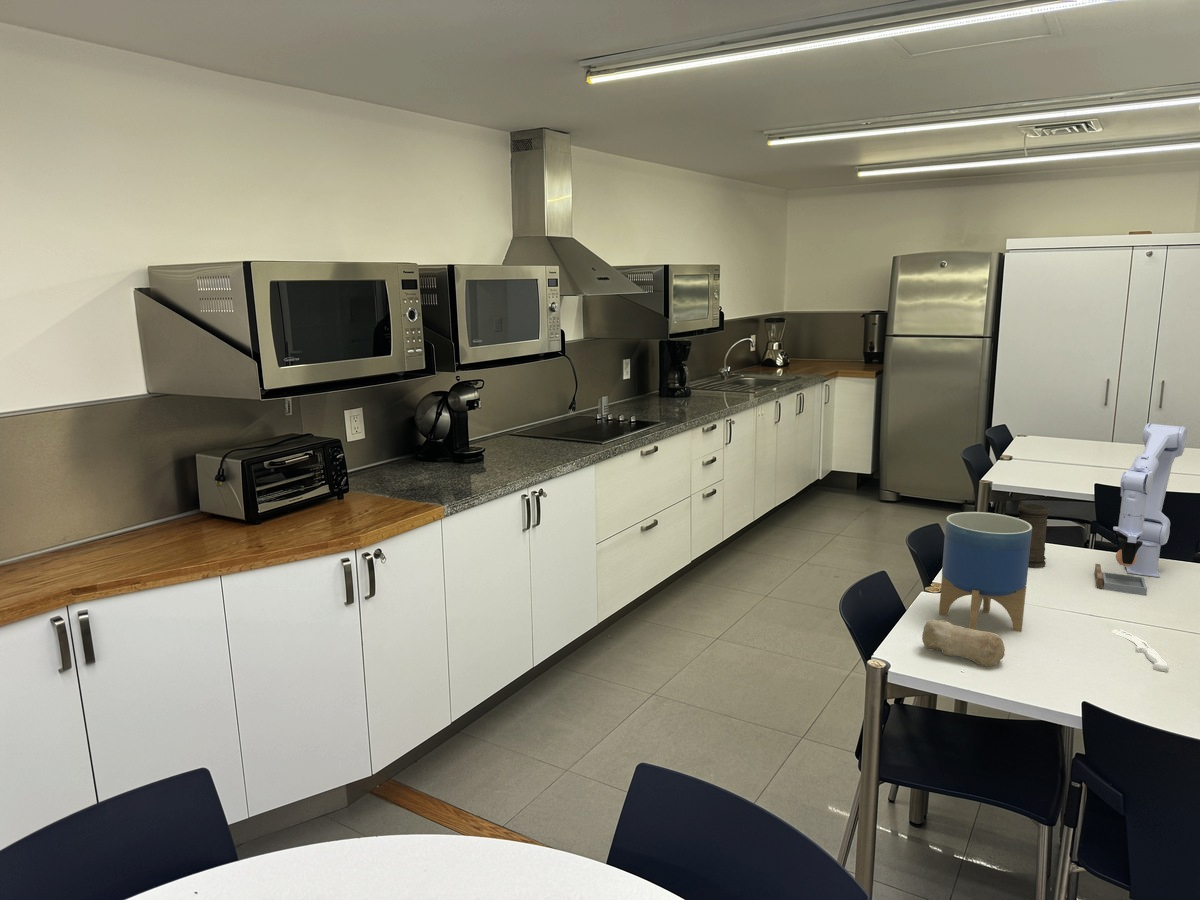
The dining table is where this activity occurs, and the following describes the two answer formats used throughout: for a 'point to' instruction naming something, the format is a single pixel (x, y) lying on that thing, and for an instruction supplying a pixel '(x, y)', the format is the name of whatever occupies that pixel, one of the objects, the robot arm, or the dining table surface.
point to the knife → (1145, 650)
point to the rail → (1098, 576)
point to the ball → (1119, 558)
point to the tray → (1124, 583)
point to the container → (1035, 531)
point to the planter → (986, 563)
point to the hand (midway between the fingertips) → (1126, 560)
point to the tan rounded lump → (963, 642)
